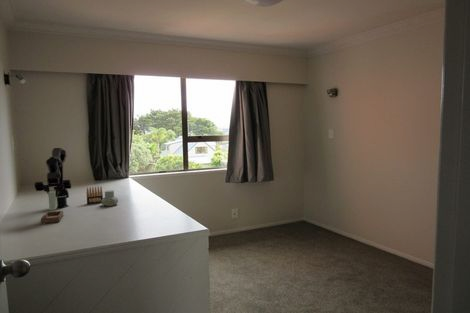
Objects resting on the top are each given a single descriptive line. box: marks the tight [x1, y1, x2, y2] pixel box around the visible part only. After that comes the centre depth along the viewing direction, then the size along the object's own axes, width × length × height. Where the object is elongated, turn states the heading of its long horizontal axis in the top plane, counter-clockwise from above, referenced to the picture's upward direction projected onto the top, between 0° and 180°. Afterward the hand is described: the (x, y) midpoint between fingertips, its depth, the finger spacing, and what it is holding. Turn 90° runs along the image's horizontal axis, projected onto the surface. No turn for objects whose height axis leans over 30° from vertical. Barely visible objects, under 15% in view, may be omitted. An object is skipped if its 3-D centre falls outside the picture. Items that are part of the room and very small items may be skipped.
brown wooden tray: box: [40, 210, 64, 225], centre depth 192 cm, size 16×9×3 cm, turn 20°
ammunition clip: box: [86, 185, 104, 205], centre depth 234 cm, size 11×2×12 cm, turn 114°
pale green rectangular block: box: [47, 189, 58, 211], centre depth 192 cm, size 9×3×10 cm, turn 22°
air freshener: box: [100, 189, 119, 207], centre depth 227 cm, size 11×8×10 cm
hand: (52, 196), depth 191 cm, fingers closed on pale green rectangular block, 3 cm apart
